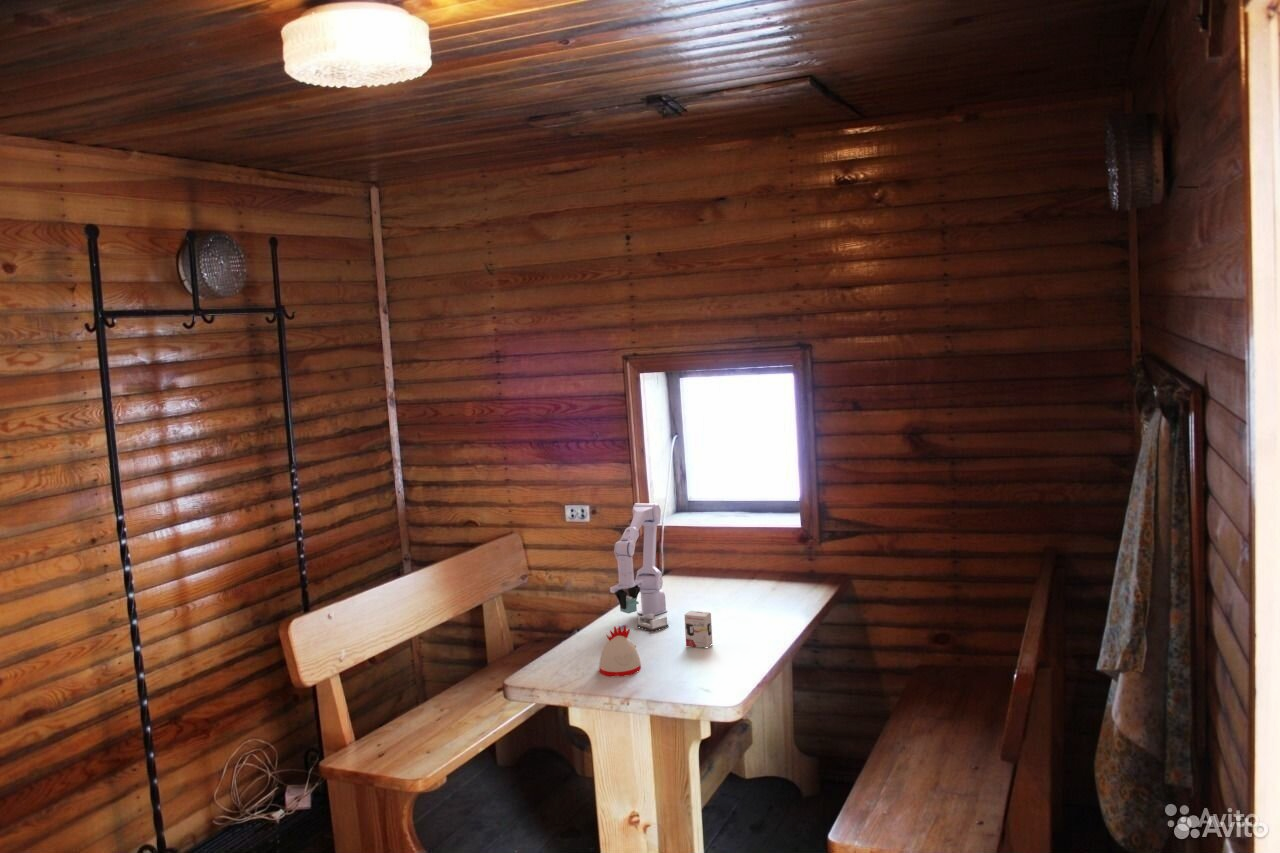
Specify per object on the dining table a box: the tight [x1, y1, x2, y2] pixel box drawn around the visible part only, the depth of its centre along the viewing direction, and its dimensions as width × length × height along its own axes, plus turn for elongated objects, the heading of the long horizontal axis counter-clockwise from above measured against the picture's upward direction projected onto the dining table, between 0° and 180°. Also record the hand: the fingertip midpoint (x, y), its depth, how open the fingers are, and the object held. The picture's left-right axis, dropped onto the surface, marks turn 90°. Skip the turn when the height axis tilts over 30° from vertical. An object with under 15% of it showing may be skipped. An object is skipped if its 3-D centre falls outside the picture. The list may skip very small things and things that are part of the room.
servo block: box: [616, 595, 639, 614], centre depth 386 cm, size 4×8×6 cm, turn 38°
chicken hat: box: [598, 625, 642, 677], centre depth 341 cm, size 14×14×15 cm
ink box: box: [684, 610, 713, 648], centre depth 361 cm, size 9×5×12 cm, turn 62°
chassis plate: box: [636, 613, 669, 632], centre depth 387 cm, size 8×9×4 cm
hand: (628, 607), depth 386 cm, fingers closed on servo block, 4 cm apart
